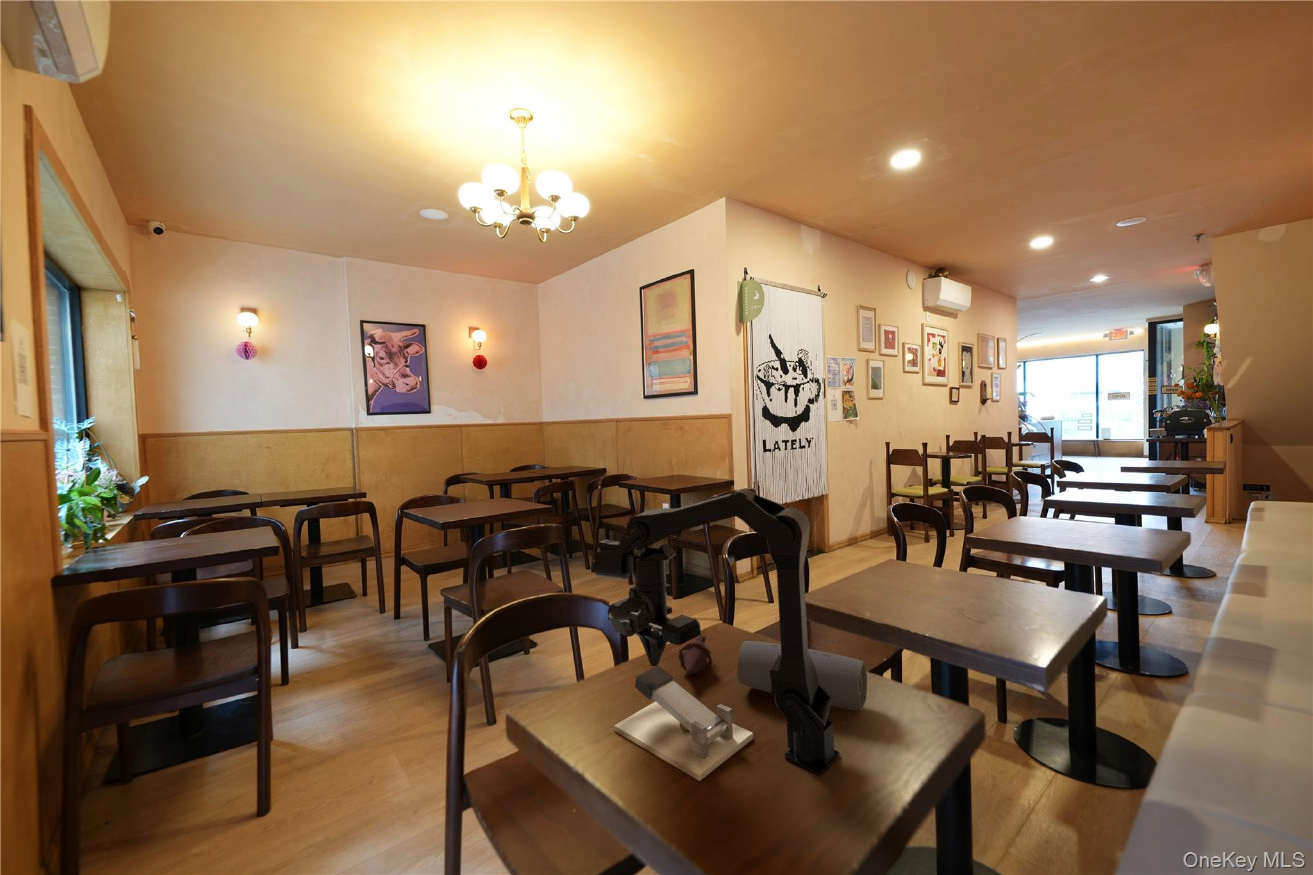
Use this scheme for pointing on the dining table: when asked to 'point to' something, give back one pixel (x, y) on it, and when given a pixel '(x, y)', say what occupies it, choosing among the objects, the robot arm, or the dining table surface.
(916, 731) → the dining table surface
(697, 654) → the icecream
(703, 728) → the nutcracker board
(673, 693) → the lever
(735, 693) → the dining table surface
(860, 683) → the bluetooth speaker
